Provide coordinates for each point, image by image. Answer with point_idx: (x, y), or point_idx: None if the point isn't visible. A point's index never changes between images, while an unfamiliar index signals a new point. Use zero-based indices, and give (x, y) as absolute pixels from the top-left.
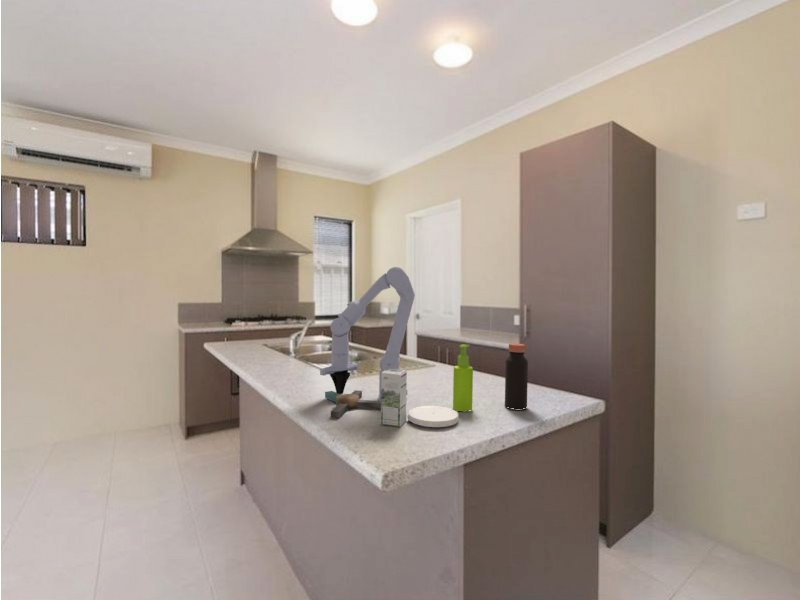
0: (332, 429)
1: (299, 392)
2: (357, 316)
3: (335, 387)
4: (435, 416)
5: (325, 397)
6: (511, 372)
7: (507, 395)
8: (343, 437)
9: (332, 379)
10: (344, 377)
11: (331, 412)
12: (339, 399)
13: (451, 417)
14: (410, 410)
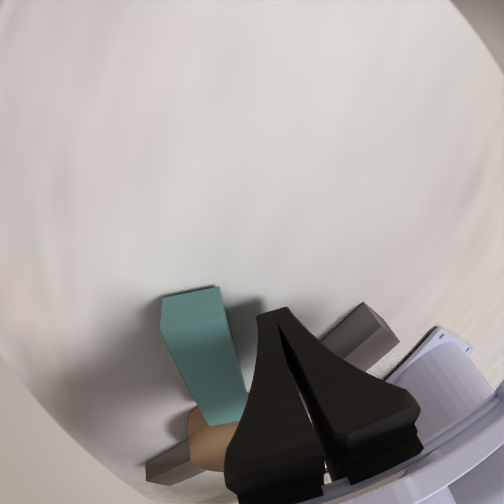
0: (142, 485)
1: (25, 27)
2: None
3: (259, 348)
4: None
5: (164, 304)
6: None
7: None
8: (158, 497)
9: (244, 411)
10: (325, 461)
11: (148, 478)
12: (196, 464)
13: None
14: (330, 482)
